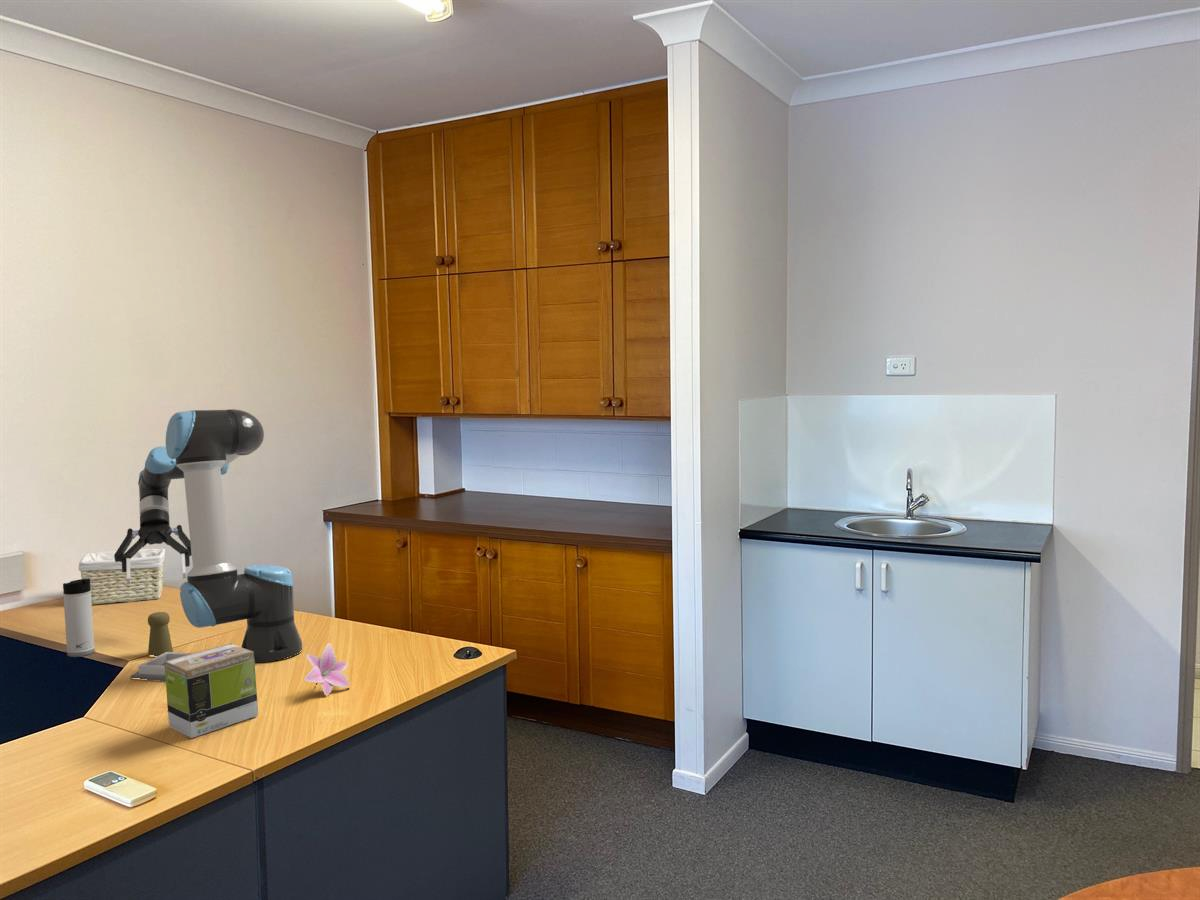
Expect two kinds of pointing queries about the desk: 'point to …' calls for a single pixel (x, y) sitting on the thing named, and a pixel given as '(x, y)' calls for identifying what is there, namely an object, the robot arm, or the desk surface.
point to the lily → (327, 670)
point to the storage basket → (123, 576)
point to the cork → (159, 634)
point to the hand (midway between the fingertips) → (156, 578)
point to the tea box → (211, 689)
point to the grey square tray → (156, 667)
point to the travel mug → (78, 618)
